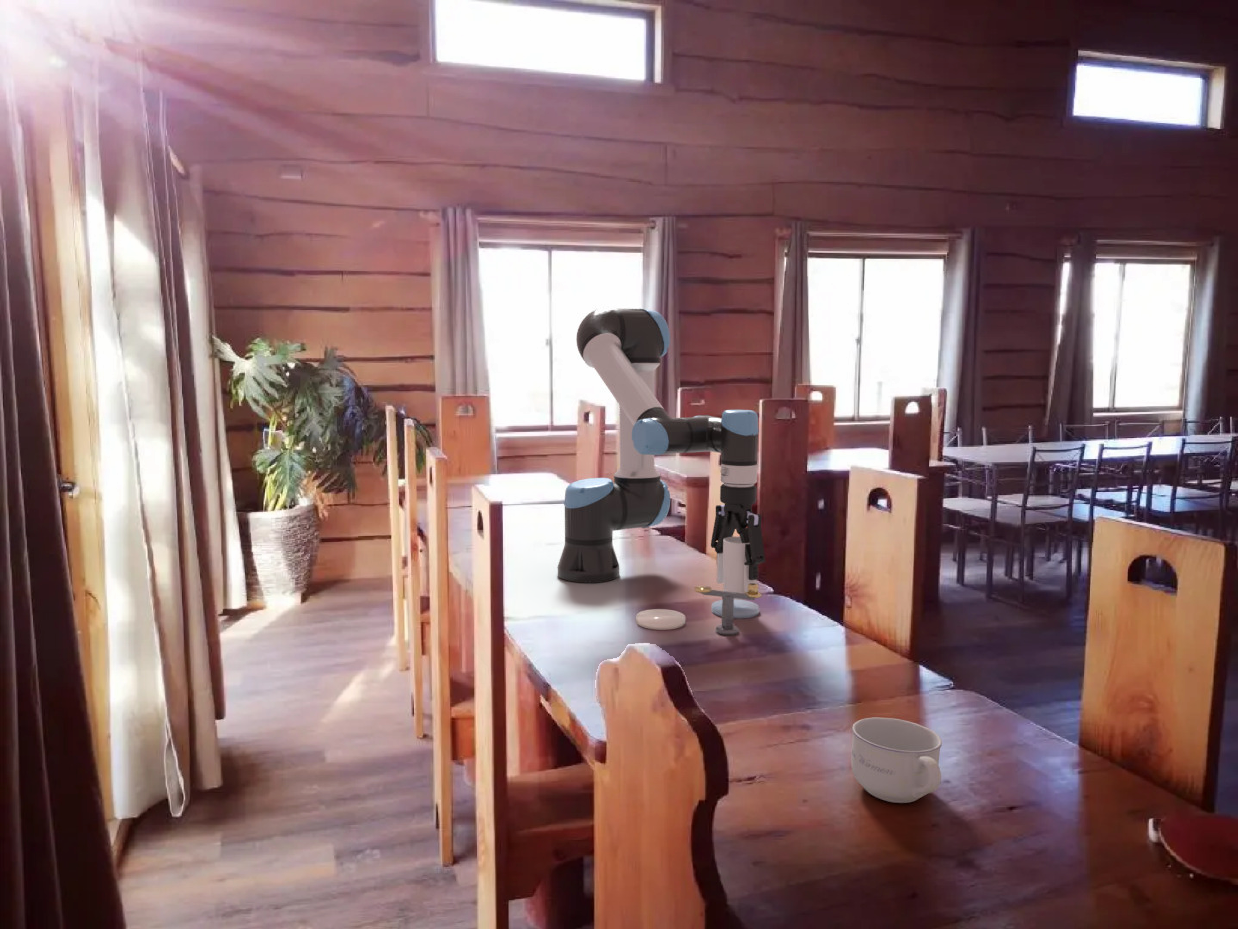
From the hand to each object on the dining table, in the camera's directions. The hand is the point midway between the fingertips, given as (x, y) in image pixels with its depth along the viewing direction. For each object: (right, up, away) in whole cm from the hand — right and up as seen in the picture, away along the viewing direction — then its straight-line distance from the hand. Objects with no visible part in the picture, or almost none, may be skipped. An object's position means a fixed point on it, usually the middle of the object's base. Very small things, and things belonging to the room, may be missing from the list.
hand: (736, 588), depth 188 cm
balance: (-3, -7, -13) cm, 15 cm away
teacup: (+10, -16, -77) cm, 79 cm away
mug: (0, -1, 0) cm, 1 cm away
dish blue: (0, -5, +1) cm, 5 cm away
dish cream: (-16, -6, -7) cm, 19 cm away
